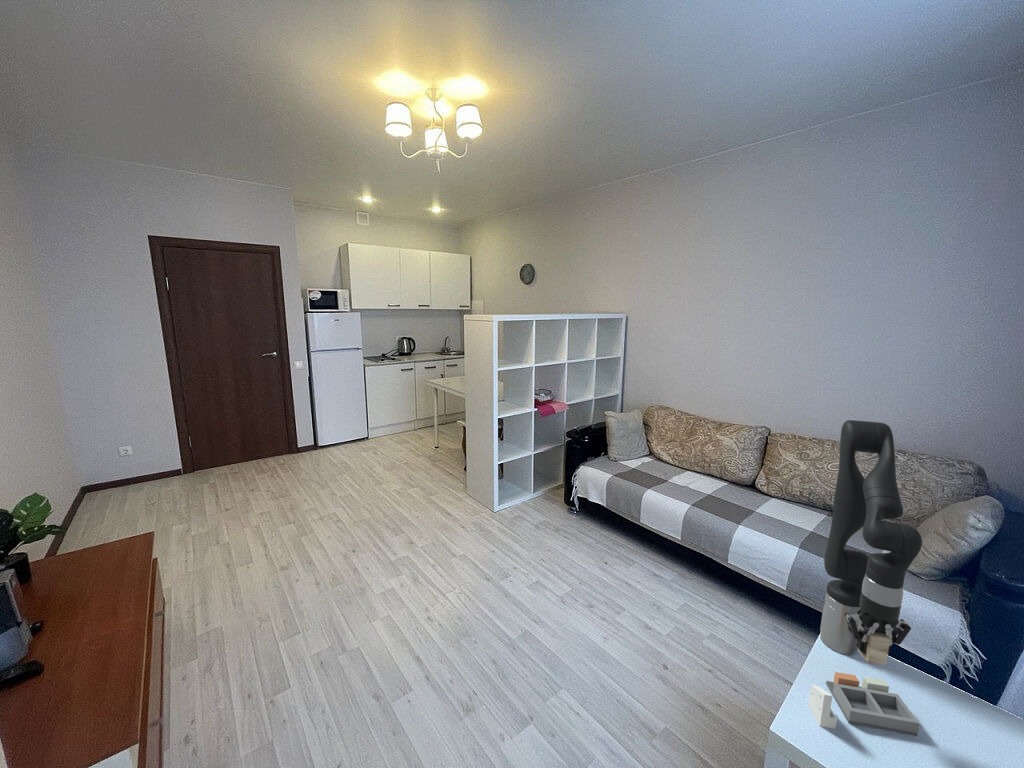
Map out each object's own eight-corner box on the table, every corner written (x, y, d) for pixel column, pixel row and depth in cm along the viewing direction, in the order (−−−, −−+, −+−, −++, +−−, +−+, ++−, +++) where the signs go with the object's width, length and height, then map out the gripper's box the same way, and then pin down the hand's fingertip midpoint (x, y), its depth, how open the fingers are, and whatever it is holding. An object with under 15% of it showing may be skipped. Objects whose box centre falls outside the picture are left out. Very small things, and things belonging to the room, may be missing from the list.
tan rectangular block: (857, 649, 106) (862, 624, 105) (875, 652, 105) (879, 626, 104) (867, 662, 102) (871, 636, 101) (885, 665, 102) (890, 638, 100)
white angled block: (830, 735, 100) (824, 694, 102) (810, 717, 109) (805, 680, 112) (847, 738, 99) (840, 697, 102) (825, 720, 108) (819, 682, 111)
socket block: (825, 683, 116) (828, 669, 115) (886, 694, 112) (889, 679, 111) (848, 723, 105) (851, 707, 104) (916, 736, 101) (920, 720, 100)
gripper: (903, 588, 103) (893, 645, 106) (840, 581, 106) (832, 636, 109) (926, 610, 96) (914, 669, 99) (857, 601, 99) (848, 660, 102)
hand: (871, 652), depth 104 cm, fingers closed on tan rectangular block, 4 cm apart
